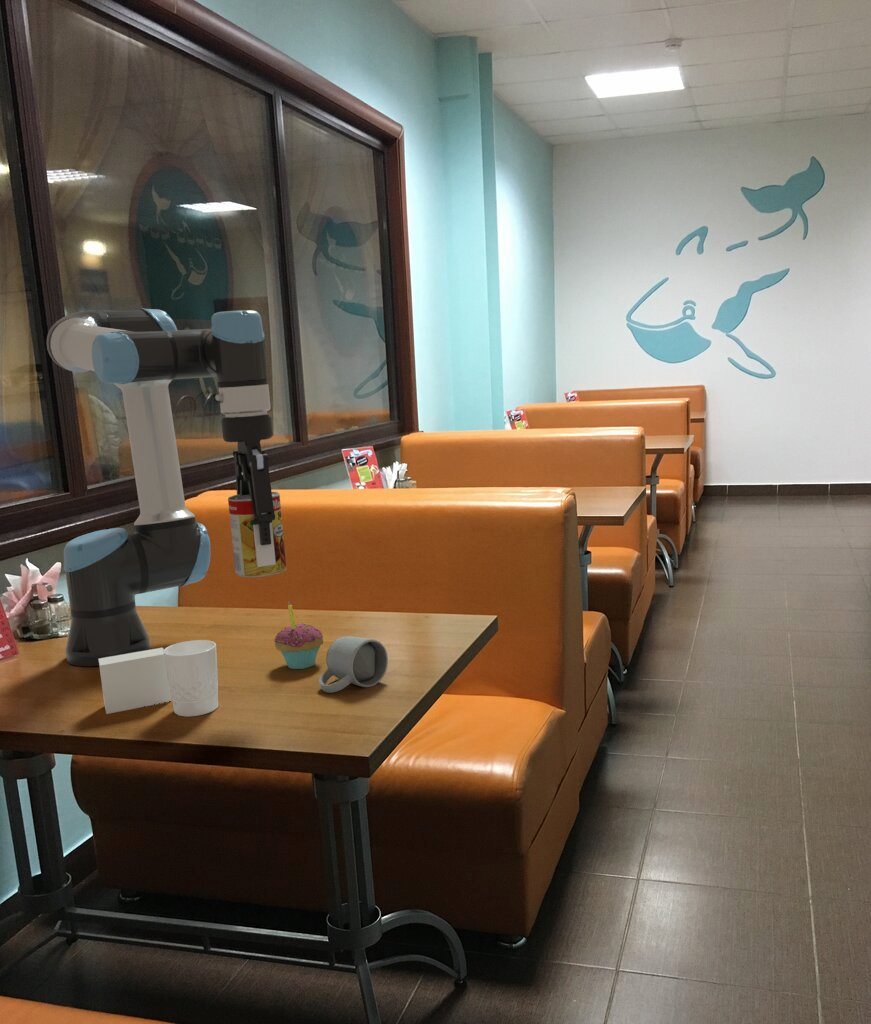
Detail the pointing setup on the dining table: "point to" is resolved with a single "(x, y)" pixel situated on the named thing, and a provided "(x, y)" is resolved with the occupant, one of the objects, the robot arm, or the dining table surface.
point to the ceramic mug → (354, 663)
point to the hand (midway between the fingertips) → (260, 560)
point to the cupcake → (299, 643)
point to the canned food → (245, 537)
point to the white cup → (192, 677)
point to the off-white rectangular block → (134, 680)
